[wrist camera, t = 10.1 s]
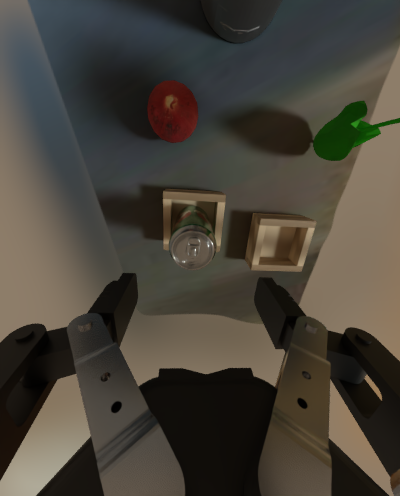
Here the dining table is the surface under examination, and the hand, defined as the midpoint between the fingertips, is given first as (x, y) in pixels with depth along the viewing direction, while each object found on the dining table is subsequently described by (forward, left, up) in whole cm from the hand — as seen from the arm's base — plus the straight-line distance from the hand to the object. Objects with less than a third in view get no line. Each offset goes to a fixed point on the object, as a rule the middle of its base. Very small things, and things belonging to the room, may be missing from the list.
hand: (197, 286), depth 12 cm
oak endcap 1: (0, 0, -20) cm, 20 cm away
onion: (-13, -3, -20) cm, 24 cm away
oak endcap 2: (+3, +14, -20) cm, 24 cm away
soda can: (0, 0, -19) cm, 19 cm away
